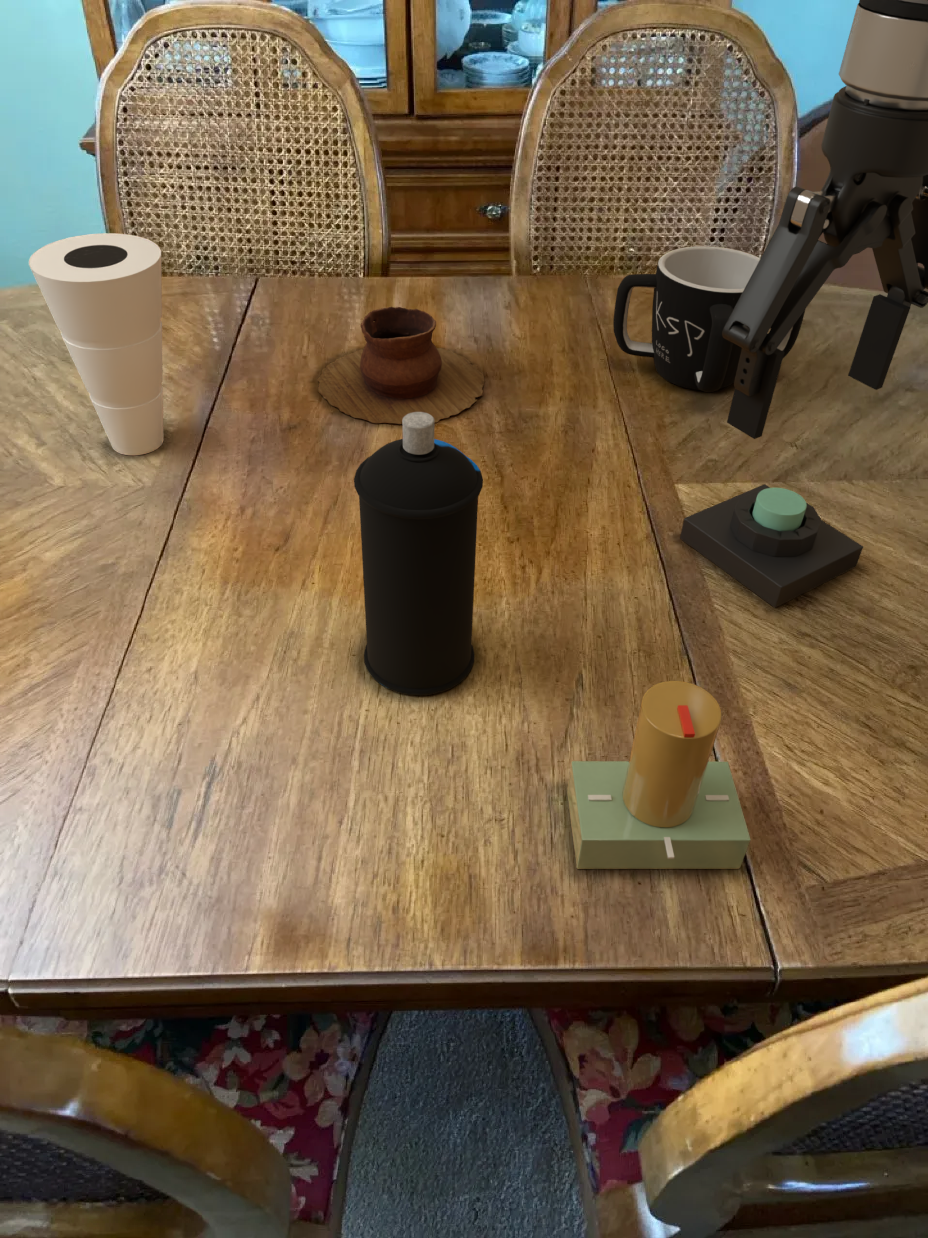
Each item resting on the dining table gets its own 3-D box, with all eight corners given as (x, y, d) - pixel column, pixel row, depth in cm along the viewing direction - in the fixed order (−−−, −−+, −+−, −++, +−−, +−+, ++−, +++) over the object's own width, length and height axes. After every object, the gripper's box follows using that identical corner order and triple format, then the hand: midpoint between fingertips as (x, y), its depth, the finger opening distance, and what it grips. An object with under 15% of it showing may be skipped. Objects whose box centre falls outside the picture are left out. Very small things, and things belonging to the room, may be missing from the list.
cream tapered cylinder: (66, 431, 94) (14, 246, 82) (172, 404, 99) (137, 225, 87) (99, 484, 87) (48, 291, 76) (210, 452, 92) (179, 266, 80)
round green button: (811, 522, 80) (817, 505, 79) (778, 538, 78) (783, 520, 77) (775, 499, 82) (780, 482, 81) (742, 513, 80) (746, 496, 79)
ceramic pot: (303, 420, 97) (296, 355, 92) (332, 341, 110) (327, 281, 106) (481, 430, 96) (484, 365, 92) (488, 349, 110) (491, 289, 105)
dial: (617, 769, 60) (637, 676, 55) (687, 770, 60) (713, 676, 55) (627, 828, 57) (649, 734, 51) (701, 828, 57) (730, 734, 52)
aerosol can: (435, 713, 67) (438, 470, 54) (341, 668, 71) (322, 428, 57) (494, 646, 73) (510, 410, 60) (404, 607, 76) (400, 374, 63)
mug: (593, 360, 108) (606, 254, 100) (697, 329, 115) (717, 227, 107) (693, 424, 98) (717, 312, 90) (801, 386, 105) (832, 278, 97)
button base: (856, 567, 81) (870, 528, 79) (775, 608, 77) (787, 569, 74) (759, 503, 88) (769, 466, 85) (679, 538, 84) (687, 500, 81)
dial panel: (714, 775, 64) (724, 743, 62) (745, 888, 58) (757, 857, 55) (564, 774, 64) (569, 743, 62) (578, 888, 57) (584, 857, 55)
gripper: (811, 138, 51) (726, 477, 65) (1071, 82, 62) (950, 383, 76) (709, 103, 55) (650, 427, 69) (968, 57, 66) (871, 345, 80)
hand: (806, 404), depth 73 cm, fingers open, 13 cm apart
